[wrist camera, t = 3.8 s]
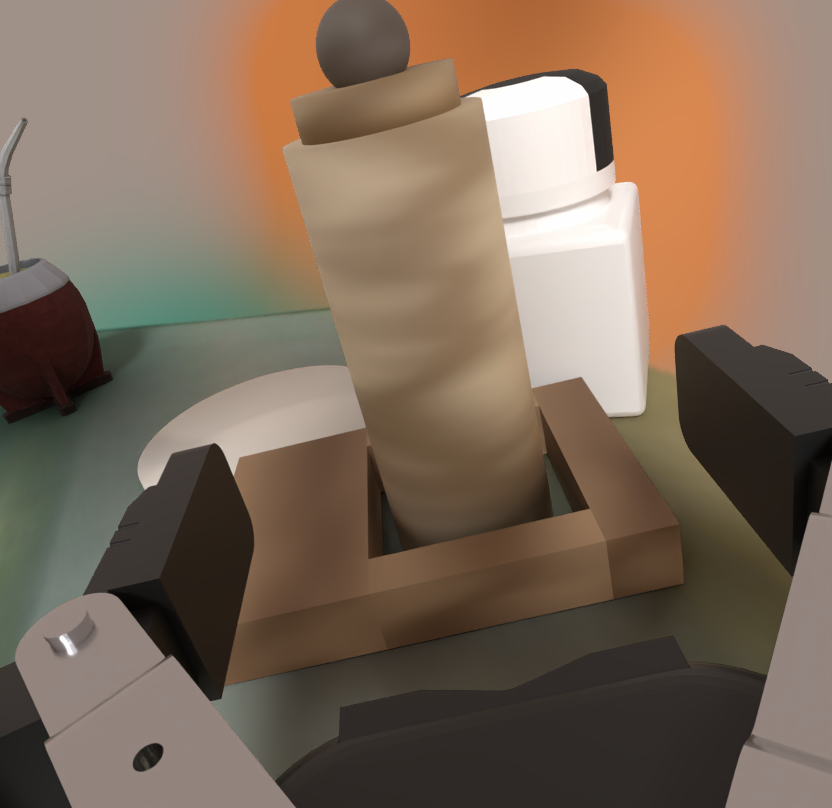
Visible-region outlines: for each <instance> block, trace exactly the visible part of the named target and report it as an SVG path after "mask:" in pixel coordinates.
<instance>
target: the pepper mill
mask: <svg viewBox="0 0 832 808" xmlns="http://www.w3.org/2000/svg"><path fill="white" fill-rule="evenodd" d="M316 52H317V57H318V61H319V63H320V67H321V68H322V71H323V72H324V74H325V76H326V78H327V79H328V80H329V81H330V83H332V84H333V85H334V86H332V87H329V88H325V89H322V90H318V91H315V92H312V93H308V94H305V95H302V96H299V97H296V98H293V99H291V100H290V103H291V107H292V110H293V114H294V117H295V121H296V124H297V128H298V131H299V135H300V138H301V139H298V140H296V141H294V142H292V143H290V144H288V145H286V146H285V147H283V149H282V150H283V153H284V157H285V160H286V163H287V167H288V170H289V173H290V176H291V180H292V183H293V187H294V190H295V193H296V197H297V200H298V203H299V207H300V210H301V213H302V216H303V220H304V223H305V227H306V230H307V233H308V236H309V240H310V243H311V246H312V250H313V253H314V256H315V260H316V263H317V266H318V270H319V273H320V276H321V280H322V283H323V286H324V289H325V293H326V296H327V299H328V303H329V306H330V310H331V313H332V316H333V319H334V323H335V326H336V329H337V333H338V336H339V339H340V343H341V346H342V349H343V353H344V356H345V359H346V363H347V366H348V369H349V373H350V376H351V379H352V383H353V386H354V389H355V393H356V396H357V399H358V403H359V406H360V409H361V412H362V416H363V419H364V422H365V426H366V429H367V432H368V436H369V439H370V442H371V446H372V449H373V452H374V456H375V459H376V462H377V466H378V469H379V472H380V476H381V479H382V482H383V486H384V489H385V492H386V495H387V499H388V502H389V505H390V509H391V512H392V515H393V519H394V522H395V525H396V529H397V532H398V535H399V539H400V542H401V545H402V548H403V551H407V550H411V549H416V548H420V547H425V546H429V545H433V544H438V543H442V542H446V541H451V540H455V539H460V538H464V537H468V536H473V535H477V534H481V533H486V532H490V531H495V530H499V529H503V528H508V527H512V526H517V525H521V524H525V523H530V522H534V521H538V520H543V519H547V518H552V517H553V509H552V504H551V498H550V492H549V486H548V480H547V475H546V469H545V463H544V457H543V451H542V446H541V440H540V434H539V428H538V422H537V417H536V411H535V405H534V399H533V393H532V387H531V382H530V376H529V370H528V364H527V358H526V353H525V347H524V341H523V335H522V329H521V324H520V318H519V312H518V306H517V300H516V294H515V289H514V283H513V277H512V271H511V265H510V260H509V254H508V248H507V242H506V236H505V231H504V225H503V219H502V213H501V207H500V202H499V196H498V190H497V184H496V178H495V172H494V167H493V161H492V155H491V149H490V143H489V138H488V132H487V126H486V120H485V114H484V109H483V103H482V98H480V97H465V98H460V94H459V89H458V83H457V78H456V72H455V67H454V62H453V58H450V59H443V60H438V61H433V62H428V63H423V64H419V65H414V66H410V67H407V64H408V61H409V56H410V40H409V34H408V31H407V28H406V25H405V22H404V21H403V19H402V17H401V15H400V14H399V13H398V11H397V10H396V9H395V8H394V7H393V6H392V5H391V4H390V3H388V2H387V1H386V0H338V1H336V2H335V3H334V4H333V5H332V6H331V7H330V8H329V9H328V10H327V11H326V13H325V14H324V16H323V18H322V19H321V22H320V24H319V27H318V31H317V37H316Z"/></svg>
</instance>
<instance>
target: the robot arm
mask: <svg viewBox="0 0 832 808" xmlns="http://www.w3.org/2000/svg"><path fill="white" fill-rule="evenodd" d="M675 363H676V379H677V395H678V410H679V421H680V426H681V430H682V433H683V436H684V439H685V442H686V444H687V446H688V448H689V449H690V451H691V452H692V454H693V455H694V456H695V457H696V458H697V460H698V461H699V462H700V463H701V465H702V466H703V467H704V468H705V470H706V471H707V472H708V473H709V475H710V476H711V477H712V478H713V480H714V481H715V482H716V483H717V485H718V486H719V487H720V488H721V490H722V491H723V492H724V493H725V494H726V496H727V497H728V498H729V499H730V501H731V502H732V503H733V504H734V506H735V507H736V508H737V509H738V511H739V512H740V513H741V514H742V516H743V517H744V518H745V519H746V521H747V522H748V523H749V524H750V525H751V527H752V528H753V529H754V530H755V532H756V533H757V534H758V535H759V537H760V538H761V539H762V540H763V542H764V543H765V544H766V545H767V547H768V548H769V549H770V550H771V552H772V553H773V554H774V555H775V557H776V558H777V559H778V560H779V561H780V563H781V564H782V565H783V566H784V568H785V569H786V570H787V571H788V573H789V574H790V575H791V576H793V580H792V584H791V588H790V592H789V595H788V599H787V603H786V607H785V611H784V615H783V618H782V622H781V626H780V630H779V634H778V638H777V641H776V645H775V649H774V653H773V657H772V661H771V664H770V668H769V672H768V676H766V675H763V674H760V673H756V672H753V671H750V670H746V669H743V668H738V667H733V666H728V665H723V664H715V663H706V662H687V661H686V659H685V657H684V655H683V653H682V652H681V650H680V648H679V646H678V644H677V642H676V640H675V638H674V636H669V637H665V638H660V639H655V640H651V641H646V642H641V643H637V644H632V645H628V646H623V647H618V648H614V649H609V650H604V651H600V652H595V653H590V654H588V655H586V656H584V657H582V658H579V659H577V660H575V661H573V662H571V663H569V664H566V665H564V666H562V667H560V668H558V669H555V670H553V671H551V672H549V673H547V674H545V675H542V676H540V677H538V678H536V679H534V680H532V681H529V682H527V683H525V684H523V685H521V686H518V687H516V688H513V689H509V690H502V691H472V690H419V691H414V692H410V693H405V694H401V695H396V696H391V697H387V698H382V699H377V700H373V701H368V702H364V703H359V704H354V705H350V706H345V707H340V728H339V736H338V737H336V738H334V739H332V740H330V741H328V742H326V743H325V744H323V745H321V746H320V747H318V748H316V749H315V750H313V751H311V752H310V753H308V754H307V755H306V756H304V757H303V758H302V759H300V760H299V761H297V762H296V763H295V764H293V765H292V766H291V767H290V768H289V769H288V770H287V771H286V772H284V773H283V774H282V775H281V776H280V777H279V778H278V779H277V780H276V781H274V780H273V779H272V778H271V776H270V775H269V774H268V773H267V771H266V770H265V769H264V768H263V766H262V765H261V764H260V763H259V762H258V760H257V759H256V758H255V757H254V755H253V754H252V753H251V752H250V750H249V749H248V748H247V747H246V745H245V744H244V743H243V742H242V740H241V739H240V738H239V737H238V735H237V734H236V733H235V732H234V731H233V729H232V728H231V727H230V726H229V724H228V723H227V722H226V721H225V719H224V718H223V717H222V716H221V714H220V713H219V712H218V711H217V709H216V708H215V707H214V706H213V704H212V703H211V702H210V701H213V700H218V699H221V698H222V693H223V689H224V684H225V680H226V675H227V670H228V666H229V661H230V657H231V652H232V648H233V643H234V638H235V634H236V629H237V625H238V620H239V616H240V611H241V606H242V602H243V597H244V593H245V588H246V584H247V579H248V574H249V570H250V565H251V561H252V556H253V552H254V531H253V525H252V521H251V518H250V515H249V512H248V510H247V507H246V505H245V503H244V500H243V498H242V495H241V493H240V491H239V488H238V486H237V483H236V481H235V478H234V476H233V474H232V471H231V469H230V466H229V464H228V462H227V459H226V457H225V455H224V453H223V451H222V449H221V448H220V446H219V445H217V444H215V443H213V444H209V445H204V446H200V447H196V448H192V449H187V450H183V451H179V452H175V453H172V454H171V456H170V458H169V460H168V462H167V464H166V466H165V468H164V470H163V473H162V475H161V477H160V479H159V481H158V483H157V485H154V486H150V487H148V488H147V489H146V490H145V491H144V492H143V493H142V494H141V495H140V496H139V497H138V498H137V499H136V500H135V501H134V502H133V503H132V504H131V505H130V506H129V507H128V508H127V510H126V512H125V514H124V516H123V518H122V520H121V522H120V524H119V526H118V529H119V530H118V531H116V532H115V534H114V536H113V538H112V540H111V542H110V547H109V548H107V549H106V551H105V553H104V555H103V557H102V559H101V561H100V563H99V565H98V567H97V569H96V571H95V573H94V575H93V577H92V579H91V581H90V583H89V585H88V587H87V588H86V590H85V592H84V594H83V596H81V597H78V598H75V599H73V600H70V601H68V602H66V603H64V604H62V605H60V606H58V607H57V608H55V609H54V610H52V611H50V612H49V613H47V614H46V615H45V616H44V617H42V618H41V619H40V620H39V621H38V622H36V623H35V624H34V625H33V626H32V627H31V628H30V629H29V631H28V632H27V633H26V634H25V635H24V637H23V638H22V640H21V641H20V643H19V645H18V647H17V650H16V653H15V662H13V663H11V664H9V665H7V666H4V667H2V668H0V808H832V383H830V384H829V383H828V380H827V379H826V378H825V377H823V376H822V375H820V374H819V373H818V372H816V371H814V372H813V371H812V368H811V367H809V366H808V365H806V364H805V363H804V362H802V361H801V360H799V359H798V358H797V357H795V356H794V355H793V354H790V353H787V352H784V351H781V350H777V349H774V348H771V347H768V346H764V345H760V346H756V347H753V346H752V345H751V344H749V343H748V342H746V341H745V340H744V339H743V338H741V337H740V336H739V335H738V334H736V333H735V332H734V331H733V330H731V329H730V328H729V327H727V326H725V325H720V326H716V327H712V328H708V329H703V330H699V331H695V332H691V333H686V334H682V335H679V336H678V337H677V339H676V341H675Z"/></svg>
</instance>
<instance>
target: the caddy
mask: <svg viewBox="0 0 832 808" xmlns="http://www.w3.org/2000/svg"><path fill="white" fill-rule="evenodd" d="M532 393H533V399H534V405H535V411H536V417H537V422H538V428H539V434H540V440H541V446H542V451H543V454H548V457H549V459H550V461H551V463H552V465H553V468H554V470H555V472H556V474H557V476H558V478H559V481H560V483H561V485H562V487H563V489H564V492H565V494H566V496H567V498H568V500H569V503H570V505H571V507H572V509H573V511H574V513H569V514H565V515H560V516H556V517H552V518H547V519H543V520H538V521H534V522H530V523H525V524H521V525H517V526H512V527H508V528H503V529H499V530H495V531H490V532H486V533H481V534H477V535H473V536H468V537H464V538H460V539H455V540H451V541H446V542H442V543H438V544H433V545H429V546H425V547H420V548H416V549H411V550H407V551H403V552H398V553H394V554H389V555H385V556H384V555H383V531H382V507H381V492H384V491H385V489H384V486H383V482H382V479H381V476H380V472H379V469H378V466H377V462H376V459H375V456H374V452H373V449H372V446H371V442H370V439H369V436H368V432H367V429H366V428H362V429H358V430H354V431H349V432H345V433H341V434H337V435H333V436H328V437H324V438H320V439H316V440H311V441H307V442H303V443H299V444H294V445H290V446H286V447H282V448H278V449H273V450H269V451H265V452H261V453H256V454H252V455H248V456H244V457H239V460H238V464H237V467H236V470H235V474H234V478H235V481H236V483H237V486H238V488H239V491H240V493H241V495H242V498H243V500H244V503H245V505H246V507H247V510H248V512H249V515H250V518H251V521H252V525H253V531H254V552H253V556H252V561H251V565H250V570H249V574H248V579H247V584H246V588H245V593H244V597H243V602H242V606H241V611H240V616H239V620H238V625H237V629H236V634H235V638H234V643H233V648H232V652H231V657H230V661H229V666H228V670H227V675H226V680H225V684H224V686H226V685H230V684H235V683H239V682H244V681H248V680H253V679H257V678H262V677H266V676H271V675H275V674H280V673H284V672H289V671H293V670H298V669H302V668H307V667H311V666H316V665H320V664H324V663H329V662H333V661H338V660H342V659H347V658H351V657H356V656H360V655H365V654H369V653H374V652H378V651H383V650H387V649H392V648H396V647H401V646H405V645H410V644H414V643H419V642H423V641H428V640H432V639H437V638H441V637H446V636H450V635H455V634H459V633H464V632H468V631H473V630H477V629H482V628H486V627H491V626H495V625H500V624H504V623H509V622H513V621H518V620H522V619H527V618H531V617H536V616H540V615H545V614H549V613H554V612H558V611H563V610H567V609H572V608H576V607H581V606H585V605H590V604H594V603H599V602H603V601H608V600H612V599H617V598H621V597H626V596H630V595H635V594H639V593H644V592H648V591H653V590H657V589H661V588H666V587H670V586H675V585H679V584H684V574H683V560H682V546H681V532H680V523H679V522H678V520H677V519H676V517H675V516H674V514H673V513H672V511H671V510H670V508H669V507H668V505H667V504H666V502H665V501H664V499H663V498H662V496H661V495H660V493H659V492H658V490H657V489H656V487H655V486H654V484H653V483H652V481H651V480H650V478H649V477H648V475H647V474H646V472H645V471H644V469H643V468H642V466H641V465H640V463H639V462H638V460H637V459H636V457H635V456H634V455H633V453H632V452H631V450H630V449H629V447H628V446H627V444H626V443H625V441H624V440H623V438H622V437H621V435H620V434H619V432H618V431H617V429H616V428H615V426H614V425H613V423H612V422H611V420H610V419H609V417H608V416H607V414H606V413H605V411H604V410H603V408H602V407H601V405H600V404H599V402H598V401H597V399H596V398H595V396H594V395H593V393H592V392H591V390H590V389H589V387H588V386H587V384H586V383H585V381H584V380H583V378H582V377H578V378H574V379H570V380H565V381H561V382H557V383H553V384H548V385H544V386H540V387H536V388H532Z"/></svg>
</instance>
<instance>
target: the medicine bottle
mask: <svg viewBox="0 0 832 808" xmlns="http://www.w3.org/2000/svg"><path fill="white" fill-rule="evenodd" d="M465 97H480V98H482V103H483V109H484V114H485V120H486V126H487V132H488V138H489V143H490V149H491V155H492V161H493V167H494V172H495V178H496V184H497V190H498V196H499V202H500V207H501V213H502V219H503V225H504V231H505V236H506V242H507V248H508V254H509V260H510V265H511V271H512V277H513V283H514V289H515V294H516V300H517V306H518V312H519V318H520V324H521V329H522V335H523V341H524V347H525V353H526V358H527V364H528V370H529V376H530V382H531V387H532V388H536V387H540V386H544V385H548V384H553V383H557V382H561V381H565V380H570V379H574V378H578V377H582V378H583V380H584V381H585V383H586V384H587V386H588V387H589V389H590V390H591V392H592V393H593V395H594V396H595V398H596V399H597V401H598V402H599V404H600V405H601V407H602V408H603V410H604V411H605V413H606V414H607V416H608V417H609V418H610V417H634V416H639V415H641V414H642V413H643V412H644V411H645V407H646V392H647V375H648V358H649V340H650V329H649V317H648V305H647V293H646V281H645V271H644V270H645V269H644V256H643V245H642V233H641V221H640V208H639V196H638V189H637V186H636V185H635V184H634V183H632V182H623V183H616V184H614V182H615V181H616V177H615V167H614V156H613V145H612V135H611V125H610V115H609V105H608V94H607V84H606V83H605V82H604V81H603V80H602V79H601V78H600V77H599V76H598V75H596V74H592V73H589V72H586V71H582V70H579V69H568V70H560V71H551V72H543V73H537V74H532V75H527V76H522V77H518V78H514V79H510V80H506V81H502V82H499V83H495V84H492V85H489V86H487V87H484V88H481V89H478V90H475V91H473V92H470V93H467V94H465V95H462V96H460V98H465Z"/></svg>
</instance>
